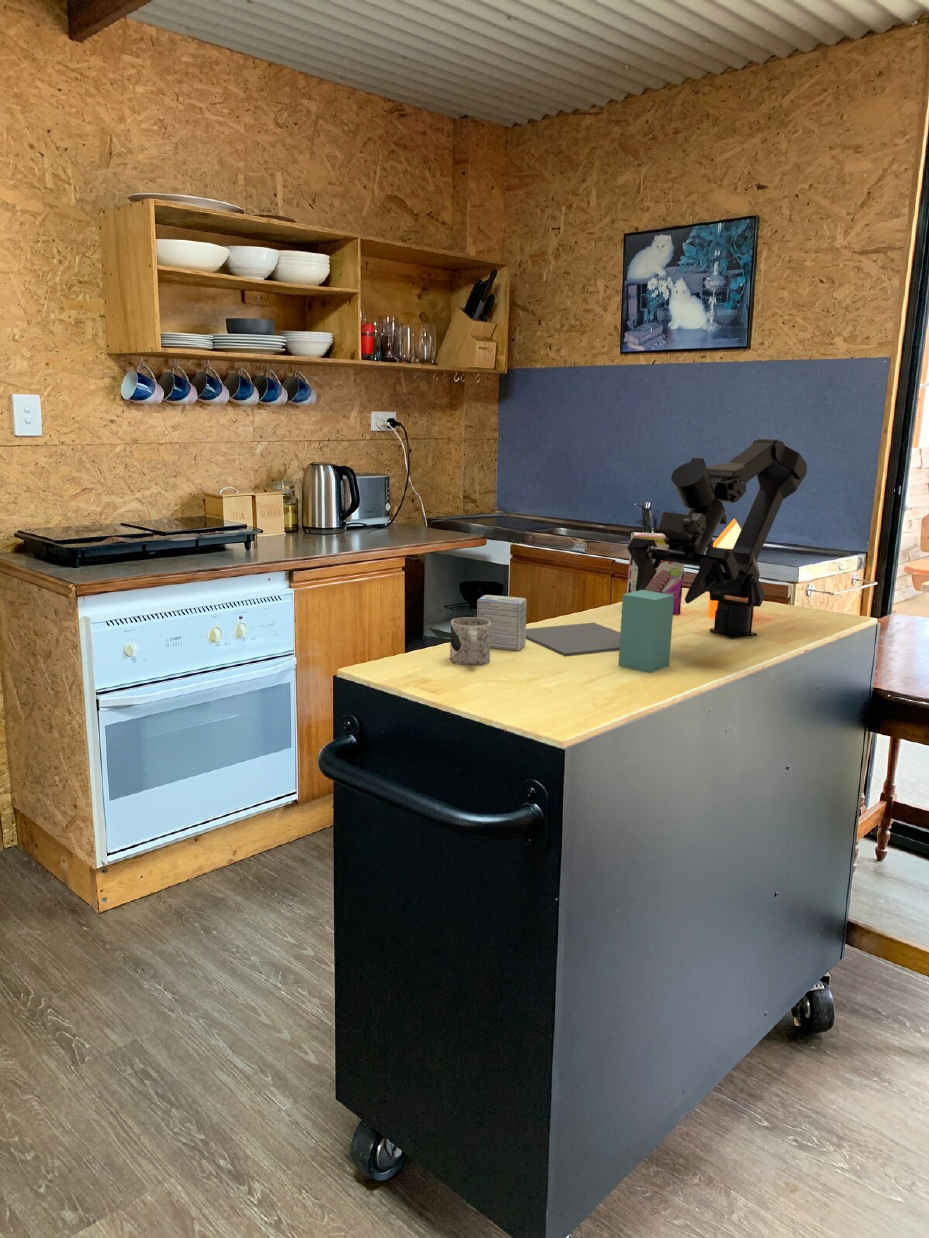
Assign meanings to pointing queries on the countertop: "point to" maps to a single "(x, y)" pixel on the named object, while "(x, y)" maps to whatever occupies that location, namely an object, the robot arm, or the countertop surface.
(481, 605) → the medicine box
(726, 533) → the orange juice
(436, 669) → the countertop surface
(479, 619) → the mug
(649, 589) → the candy bar box
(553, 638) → the charcoal mat
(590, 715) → the countertop surface
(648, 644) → the teal block
